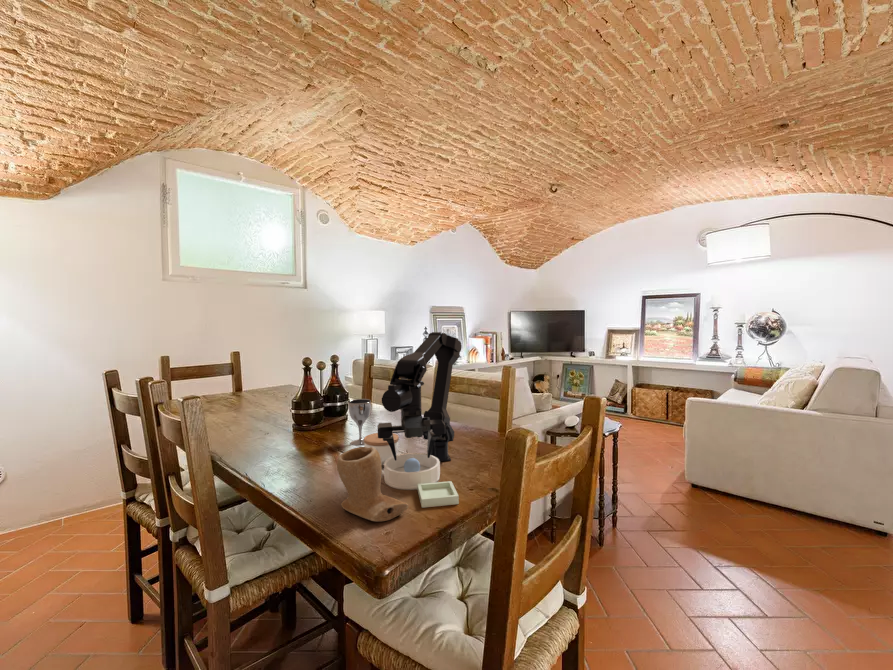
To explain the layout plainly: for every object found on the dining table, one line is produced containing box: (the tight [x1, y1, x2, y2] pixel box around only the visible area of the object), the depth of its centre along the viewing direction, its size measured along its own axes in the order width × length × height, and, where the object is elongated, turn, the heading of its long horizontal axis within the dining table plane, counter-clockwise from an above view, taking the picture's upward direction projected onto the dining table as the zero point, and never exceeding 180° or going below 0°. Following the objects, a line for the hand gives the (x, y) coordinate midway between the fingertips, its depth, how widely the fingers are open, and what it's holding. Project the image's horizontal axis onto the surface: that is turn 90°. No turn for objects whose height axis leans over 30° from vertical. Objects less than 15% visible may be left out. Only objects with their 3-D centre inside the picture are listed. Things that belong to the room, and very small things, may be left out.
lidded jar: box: [363, 432, 400, 466], centre depth 129 cm, size 11×11×9 cm
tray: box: [417, 480, 460, 509], centre depth 104 cm, size 9×9×2 cm
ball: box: [404, 458, 420, 472], centre depth 116 cm, size 5×5×5 cm
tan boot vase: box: [336, 446, 409, 522], centre depth 96 cm, size 15×12×15 cm
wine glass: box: [347, 398, 372, 447], centre depth 149 cm, size 8×8×15 cm
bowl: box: [383, 452, 441, 491], centre depth 116 cm, size 15×15×4 cm
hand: (412, 458), depth 116 cm, fingers open, 9 cm apart
